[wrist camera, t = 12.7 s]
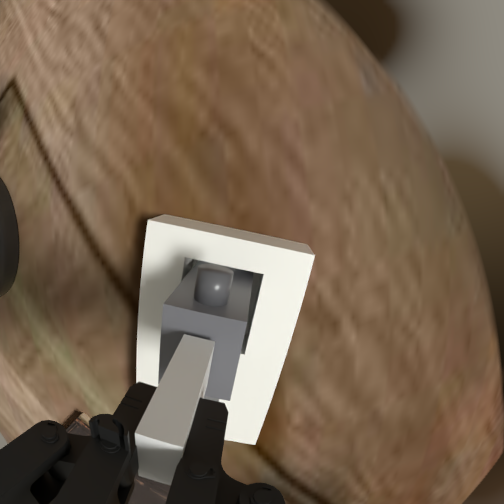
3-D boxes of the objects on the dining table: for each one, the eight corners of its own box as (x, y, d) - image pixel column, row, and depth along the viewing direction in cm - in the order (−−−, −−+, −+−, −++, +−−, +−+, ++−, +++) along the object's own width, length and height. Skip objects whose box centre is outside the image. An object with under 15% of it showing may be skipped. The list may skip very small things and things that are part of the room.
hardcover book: (84, 407, 28) (76, 418, 26) (224, 497, 31) (222, 509, 29) (51, 441, 31) (45, 450, 29) (164, 515, 34) (162, 524, 32)
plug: (192, 316, 23) (158, 384, 15) (204, 236, 22) (166, 271, 13) (241, 327, 23) (229, 401, 15) (258, 247, 22) (254, 290, 13)
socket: (148, 394, 26) (134, 422, 22) (164, 214, 22) (143, 221, 18) (256, 419, 26) (254, 450, 22) (307, 244, 22) (316, 258, 18)
